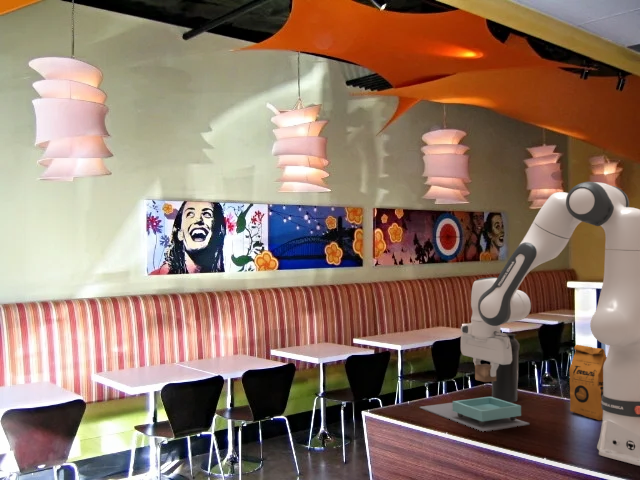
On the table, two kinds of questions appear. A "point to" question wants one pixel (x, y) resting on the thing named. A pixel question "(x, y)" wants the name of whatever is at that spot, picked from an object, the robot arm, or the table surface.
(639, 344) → the robot arm
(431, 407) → the grey rectangular mat
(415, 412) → the table surface
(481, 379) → the walnut block
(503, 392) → the water bottle
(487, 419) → the cyan square tray
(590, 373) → the coffee package
